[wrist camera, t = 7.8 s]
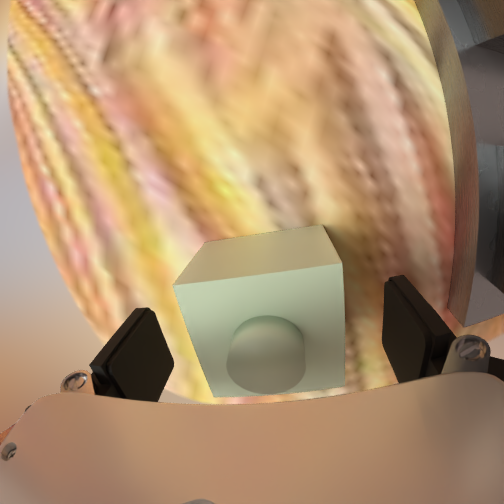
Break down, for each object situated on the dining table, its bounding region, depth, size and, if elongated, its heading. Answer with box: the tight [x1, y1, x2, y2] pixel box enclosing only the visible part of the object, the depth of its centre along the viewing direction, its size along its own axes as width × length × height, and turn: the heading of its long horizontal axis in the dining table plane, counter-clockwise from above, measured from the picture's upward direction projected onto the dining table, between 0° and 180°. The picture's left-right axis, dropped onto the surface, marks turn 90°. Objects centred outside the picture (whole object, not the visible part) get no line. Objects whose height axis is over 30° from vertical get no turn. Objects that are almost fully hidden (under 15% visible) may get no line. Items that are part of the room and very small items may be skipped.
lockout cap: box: [173, 225, 345, 397], centre depth 11 cm, size 5×5×6 cm
